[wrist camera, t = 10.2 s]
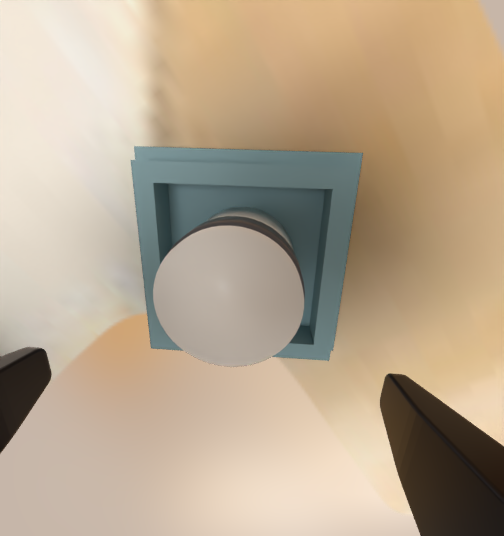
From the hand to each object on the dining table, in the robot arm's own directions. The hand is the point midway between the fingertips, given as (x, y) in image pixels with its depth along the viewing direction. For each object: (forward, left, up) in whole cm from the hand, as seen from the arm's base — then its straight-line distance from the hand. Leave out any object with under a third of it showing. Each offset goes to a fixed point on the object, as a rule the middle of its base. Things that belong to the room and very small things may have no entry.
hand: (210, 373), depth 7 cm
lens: (0, 0, -10) cm, 10 cm away
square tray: (0, 0, -11) cm, 11 cm away
